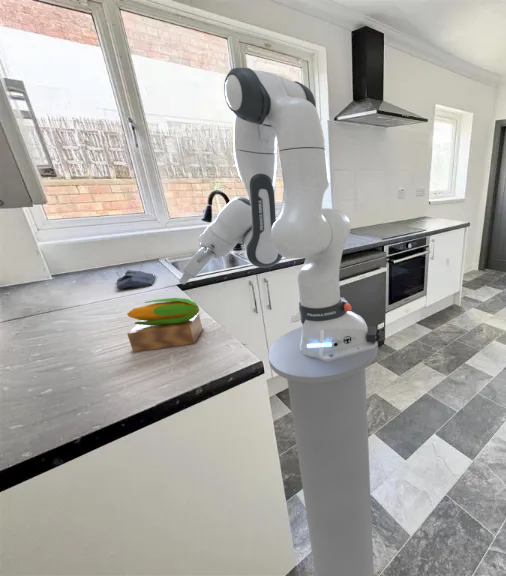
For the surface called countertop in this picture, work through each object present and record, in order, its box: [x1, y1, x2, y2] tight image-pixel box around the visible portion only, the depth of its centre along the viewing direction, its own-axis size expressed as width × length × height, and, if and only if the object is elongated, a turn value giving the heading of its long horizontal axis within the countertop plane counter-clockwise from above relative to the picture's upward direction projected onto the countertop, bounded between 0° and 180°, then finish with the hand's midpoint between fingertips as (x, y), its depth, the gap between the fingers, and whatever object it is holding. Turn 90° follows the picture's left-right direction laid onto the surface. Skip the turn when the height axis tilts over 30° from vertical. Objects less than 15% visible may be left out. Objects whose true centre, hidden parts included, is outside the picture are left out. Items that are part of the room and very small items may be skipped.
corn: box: [126, 297, 200, 325], centre depth 93 cm, size 7×8×20 cm
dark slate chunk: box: [116, 269, 156, 289], centre depth 151 cm, size 15×22×5 cm
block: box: [126, 312, 203, 353], centre depth 95 cm, size 16×10×6 cm, turn 106°
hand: (186, 277), depth 92 cm, fingers open, 8 cm apart
